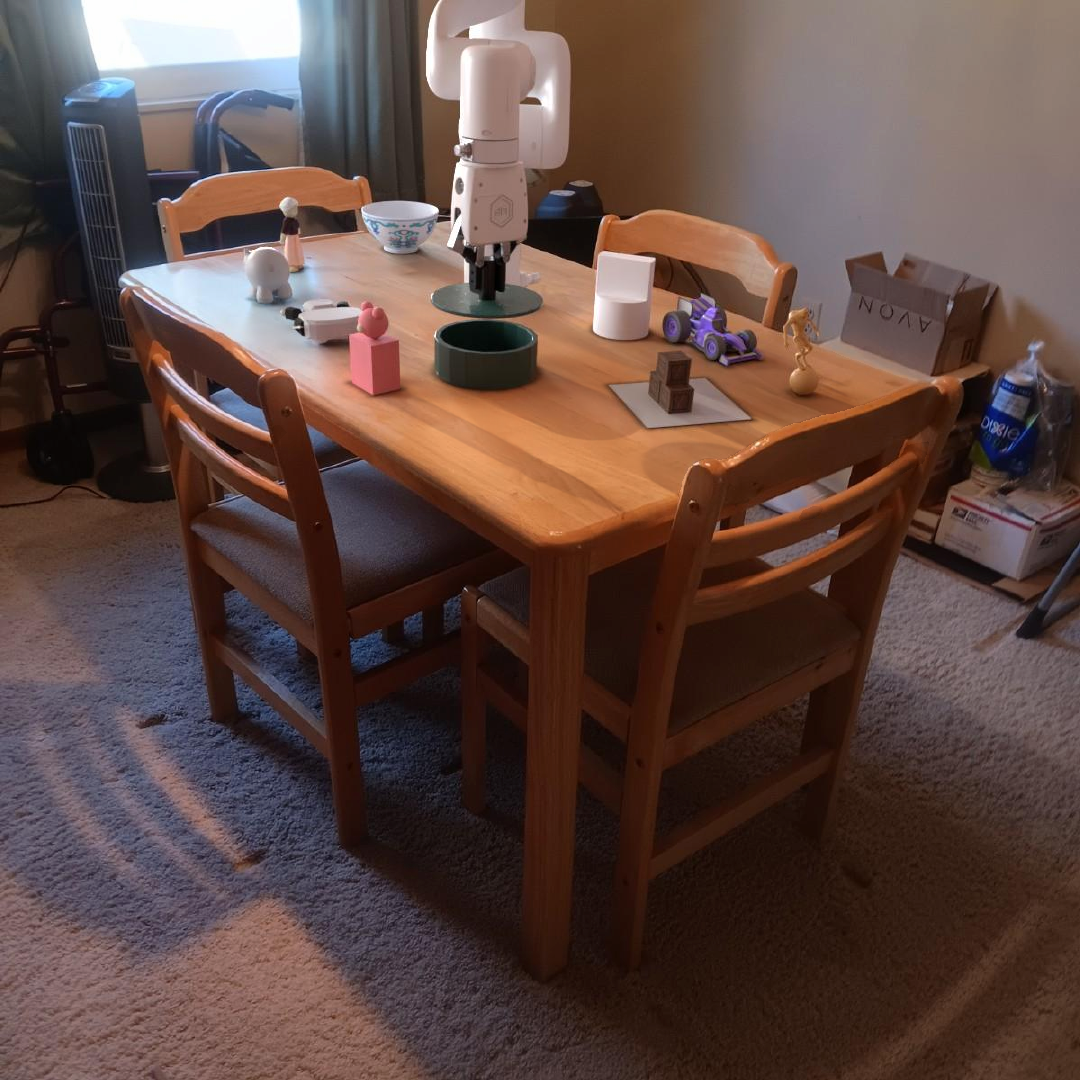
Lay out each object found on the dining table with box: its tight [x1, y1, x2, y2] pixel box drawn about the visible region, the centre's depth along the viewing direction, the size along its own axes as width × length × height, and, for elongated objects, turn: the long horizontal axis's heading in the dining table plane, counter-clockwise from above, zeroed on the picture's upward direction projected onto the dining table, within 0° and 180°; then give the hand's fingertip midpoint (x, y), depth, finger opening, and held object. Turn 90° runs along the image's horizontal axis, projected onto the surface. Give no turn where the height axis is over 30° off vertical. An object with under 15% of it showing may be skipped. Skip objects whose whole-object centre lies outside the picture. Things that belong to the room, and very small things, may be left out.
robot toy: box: [279, 298, 363, 345], centre depth 155 cm, size 12×4×15 cm
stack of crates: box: [608, 349, 752, 429], centre depth 137 cm, size 15×15×7 cm
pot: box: [433, 318, 539, 391], centre depth 144 cm, size 15×15×5 cm
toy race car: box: [661, 292, 763, 367], centre depth 157 cm, size 10×15×6 cm, turn 31°
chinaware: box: [360, 200, 440, 255], centre depth 199 cm, size 15×15×8 cm
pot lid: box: [430, 256, 544, 320], centre depth 139 cm, size 16×16×7 cm
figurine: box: [782, 308, 821, 396], centre depth 141 cm, size 8×6×12 cm
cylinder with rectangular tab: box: [592, 250, 656, 341], centre depth 160 cm, size 9×9×12 cm
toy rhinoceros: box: [242, 245, 293, 304], centre depth 170 cm, size 7×12×8 cm, turn 34°
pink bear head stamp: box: [348, 301, 401, 396], centre depth 136 cm, size 5×6×12 cm
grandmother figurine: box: [279, 196, 306, 273], centre depth 183 cm, size 8×4×13 cm, turn 179°
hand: (487, 290), depth 140 cm, fingers closed on pot lid, 2 cm apart
